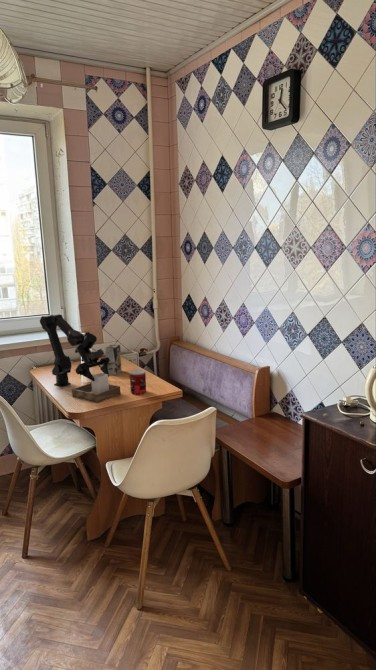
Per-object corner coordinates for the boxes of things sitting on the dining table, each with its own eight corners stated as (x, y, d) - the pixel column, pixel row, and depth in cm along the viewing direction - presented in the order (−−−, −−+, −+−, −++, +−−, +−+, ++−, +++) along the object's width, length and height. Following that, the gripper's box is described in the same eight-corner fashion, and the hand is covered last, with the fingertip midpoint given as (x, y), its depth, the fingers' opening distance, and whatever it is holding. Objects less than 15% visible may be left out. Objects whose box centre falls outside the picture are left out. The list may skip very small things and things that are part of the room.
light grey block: (92, 394, 240) (90, 375, 238) (101, 391, 244) (100, 372, 242) (99, 396, 236) (98, 377, 234) (109, 393, 240) (107, 374, 238)
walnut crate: (72, 396, 239) (71, 389, 239) (95, 388, 252) (95, 381, 251) (97, 403, 229) (96, 395, 228) (120, 394, 242) (120, 386, 241)
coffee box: (116, 375, 276) (115, 348, 273) (106, 374, 277) (104, 347, 274) (122, 370, 285) (120, 344, 281) (111, 370, 286) (110, 344, 283)
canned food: (130, 390, 247) (129, 370, 245) (146, 389, 248) (145, 369, 245) (130, 395, 240) (129, 374, 237) (146, 394, 240) (145, 373, 238)
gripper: (77, 348, 230) (93, 373, 226) (106, 341, 244) (122, 365, 240) (68, 361, 237) (84, 386, 232) (97, 354, 251) (113, 377, 246)
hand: (101, 378), depth 237 cm, fingers open, 9 cm apart
